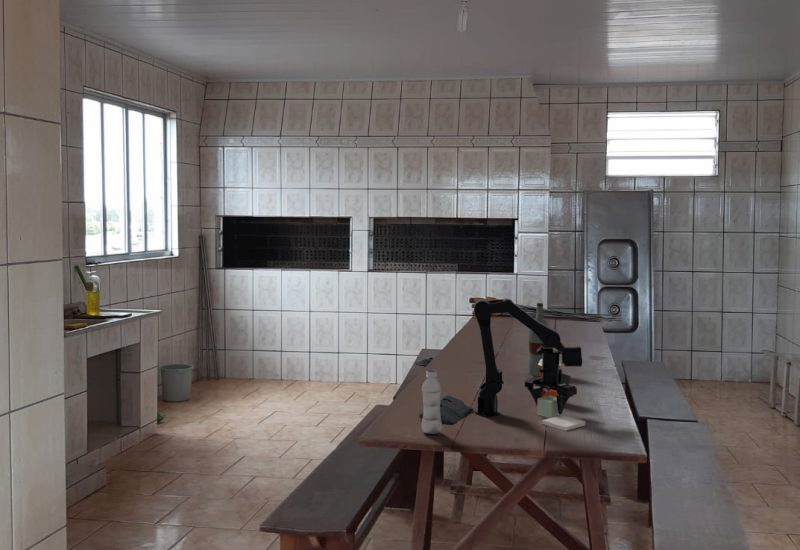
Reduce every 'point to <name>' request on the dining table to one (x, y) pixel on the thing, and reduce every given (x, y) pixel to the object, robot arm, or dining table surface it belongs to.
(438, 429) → the plastic bottle
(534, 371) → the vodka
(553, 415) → the cube
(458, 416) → the dark slate chunk
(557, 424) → the tile
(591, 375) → the dining table surface
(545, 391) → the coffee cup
